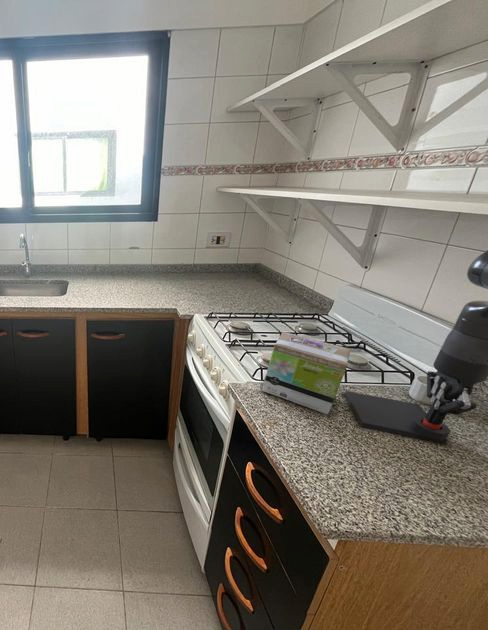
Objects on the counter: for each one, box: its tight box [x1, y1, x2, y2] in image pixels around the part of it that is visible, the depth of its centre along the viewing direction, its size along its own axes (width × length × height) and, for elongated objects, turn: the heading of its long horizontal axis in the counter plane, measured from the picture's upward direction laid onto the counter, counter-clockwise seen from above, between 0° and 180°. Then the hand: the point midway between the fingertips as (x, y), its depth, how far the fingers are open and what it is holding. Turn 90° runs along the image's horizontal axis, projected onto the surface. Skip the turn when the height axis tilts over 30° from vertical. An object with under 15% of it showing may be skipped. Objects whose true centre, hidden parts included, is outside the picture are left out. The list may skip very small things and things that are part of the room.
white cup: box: [408, 374, 431, 406], centre depth 88 cm, size 6×6×5 cm
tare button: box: [422, 418, 442, 430], centre depth 76 cm, size 3×3×2 cm
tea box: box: [261, 331, 351, 415], centre depth 88 cm, size 15×10×15 cm
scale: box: [343, 390, 451, 445], centre depth 82 cm, size 15×14×3 cm
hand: (432, 421), depth 76 cm, fingers closed
